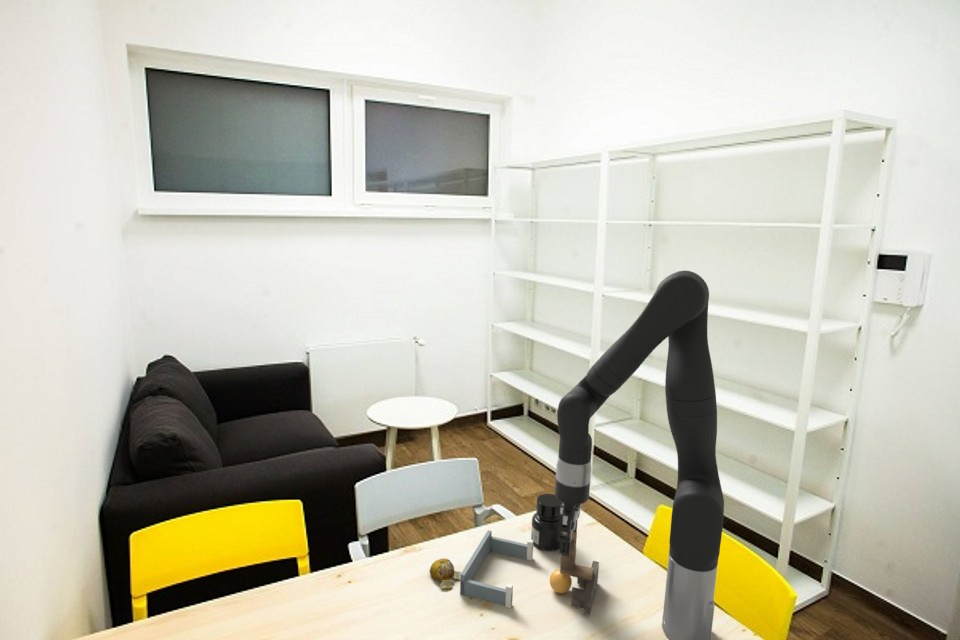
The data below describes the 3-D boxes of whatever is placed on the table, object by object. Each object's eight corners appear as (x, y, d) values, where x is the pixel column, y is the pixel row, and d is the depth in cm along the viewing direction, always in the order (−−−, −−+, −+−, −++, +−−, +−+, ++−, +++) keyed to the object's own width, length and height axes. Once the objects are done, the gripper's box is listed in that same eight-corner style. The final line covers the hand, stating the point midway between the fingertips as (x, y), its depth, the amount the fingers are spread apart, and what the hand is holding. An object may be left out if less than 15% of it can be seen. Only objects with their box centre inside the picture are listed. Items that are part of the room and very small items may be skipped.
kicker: (597, 581, 128) (601, 526, 125) (589, 615, 117) (594, 555, 114) (565, 573, 130) (568, 519, 128) (554, 606, 119) (557, 547, 116)
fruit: (447, 594, 123) (447, 579, 122) (421, 579, 128) (421, 565, 127) (470, 576, 130) (470, 562, 129) (444, 562, 135) (444, 549, 134)
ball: (572, 586, 126) (574, 567, 125) (568, 600, 122) (570, 580, 121) (551, 581, 128) (552, 562, 127) (546, 595, 123) (548, 575, 122)
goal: (532, 558, 137) (533, 540, 136) (510, 608, 119) (511, 587, 118) (487, 547, 141) (488, 529, 140) (459, 594, 123) (460, 574, 122)
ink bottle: (535, 528, 150) (537, 488, 147) (567, 535, 147) (570, 494, 145) (527, 548, 141) (528, 505, 138) (560, 555, 138) (563, 512, 136)
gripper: (585, 495, 111) (579, 566, 114) (594, 466, 124) (589, 530, 127) (549, 488, 114) (544, 557, 117) (562, 460, 127) (558, 523, 130)
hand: (568, 543), depth 122 cm, fingers open, 8 cm apart
